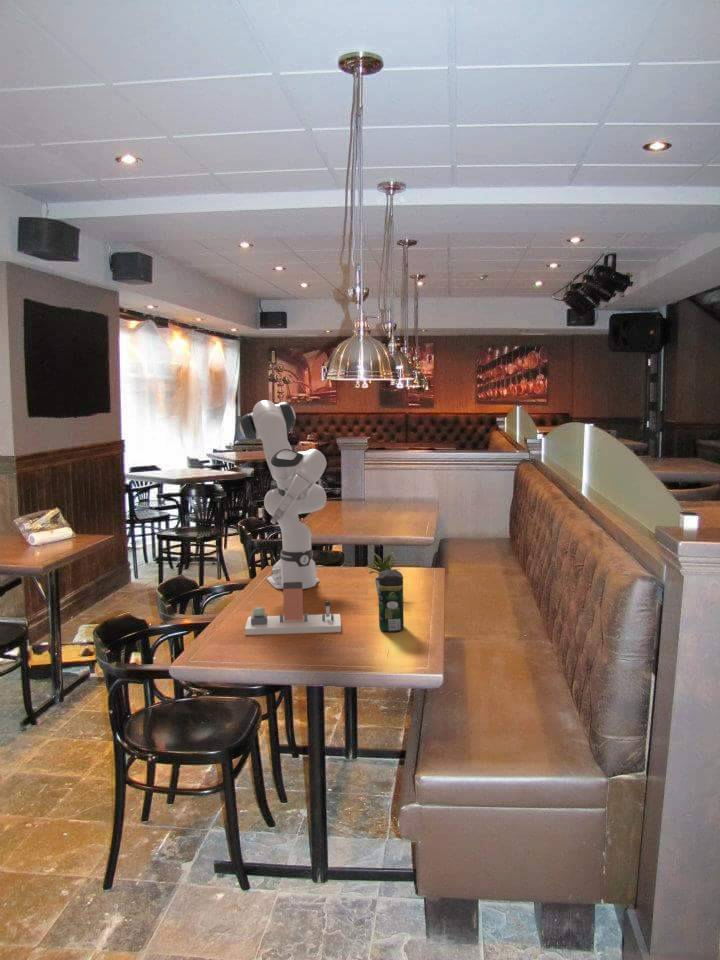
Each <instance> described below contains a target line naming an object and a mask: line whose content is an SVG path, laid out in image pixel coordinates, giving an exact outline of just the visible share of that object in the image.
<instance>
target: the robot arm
mask: <svg viewBox="0 0 720 960" xmlns="http://www.w3.org/2000/svg"><path fill="white" fill-rule="evenodd" d="M295 424H296V411H295V410H294V408H293V407H292V406H291V404H290V403H289V402H287V401H282V402H278V403H274V402H273V401H272V400H270V399H269V400H267V399H263V400H260V401H257V403H256V404H254V406H253V409H252V412H250V413H246V414H245V415H243V416H242V417H240V419H239V430H240V433H241V435H242V436H243V437H244V439H245V440H248V441H249V442H250V441H256V440H258V439H260V441H261V443H262V449H263V454H264V457H265V461H266V463H267V466H268V469H269V472H270V474H271V478H272V479H273V480H274V481H275V482H276V485H277V486H276V488H273V489H270V490H268V491H267V492H266V494H265V496H264V499H263V504H264V509H265V510H266V511H267V513H268V514H269V515H271V516H272V518H271V520H270V523H271V524H272V525H276V524H277V523H278V525H279V528H280V531H281V540H282V549H281V550H280V557H279V558H280V559H279V560H278V561H277V562H276V563H274V564H273V566H272V569H271V574H272V575H270V576H267V578H266V581H267V582H268V583H269V584H270V585H271V586H273V588H275V589H276V590H281V589H282V590H283V583H284V582H302V590H305V589H310V588H313V587H315V586H316V585H317V583H319V582H320V579H319V578H318V577H317V568H316V562H315V561H314V560H313V553H314V552H313V548H312V530H311V529H310V527H309V526H308V525H306V524H304V523H302V522H301V521H300V518H299V515H300V514H301V515H302V514H308V513H315V512H317V511H319V510H321V509H323V508H324V507H325V505H326V504H327V493H326V491H325V489H324V487H323V486H322V485H320V484H317V482H318V481H319V480H320V479H321V477H322V475H323V474H324V472H325V469H326V468H327V464H328V463H327V459H326V457H325V455H324V454H323V453H322V451H319V450H318V449H315V448H311V449H308V450H304V451H296V450H294V449H293V448H292V446H291V444H290V442H289V440H288V434H290V433H291V430H292V429H293V428H294V427H295Z"/></svg>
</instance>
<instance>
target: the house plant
mask: <svg viewBox="0 0 720 960" xmlns="http://www.w3.org/2000/svg"><path fill="white" fill-rule="evenodd" d="M393 554H394V551H392V552H391V553H390V554H388V553H387V552H386V553H385V556H384V558H383V559H382V558H381V557H380V556H379V555H378V554H376V553H374V552H373V555H374V556H376V558H377V561H375V560H374V559H372V558H369V557H368V560H370V561H372V562H373V565H374V566H371V565H364V567H366V568H369V570H371V571H368V572H367V574H368V575H371V574H374V573H375V574H376V575H377V574H378V575H379V574H380V573H381V572H382V571H384V570H391V569H393V566H394V565H395V564H396V563H397V562H398V560H397V557H395V555H393ZM373 570H374V571H373ZM396 570H397V571H399V570H400V571H402V570H401V568H398V569H396ZM378 578H379V576H377V577H375V578H374V582H375V588H376V593H377V595H378V580H379V579H378Z"/></svg>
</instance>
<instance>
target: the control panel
mask: <svg viewBox="0 0 720 960" xmlns="http://www.w3.org/2000/svg"><path fill="white" fill-rule="evenodd" d="M244 627H245V628H244V635H245V636H252V635H253V636H257V635H259V636H260V635H283V634H284V635H285V634H286V635H287V634H290V635H292V634H315V633H316V634H317V633H318V634H319V633H322V634H323V633H341V632H342V621H341V614H340V613H330V617H326V613H325V614H323V613H322V614H308V612H303V620H284V613H279V615H268V613H265V615H263V616H254V615H253V613H252V614H251V616H248V618H247V620H246V624H245V626H244Z"/></svg>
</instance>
